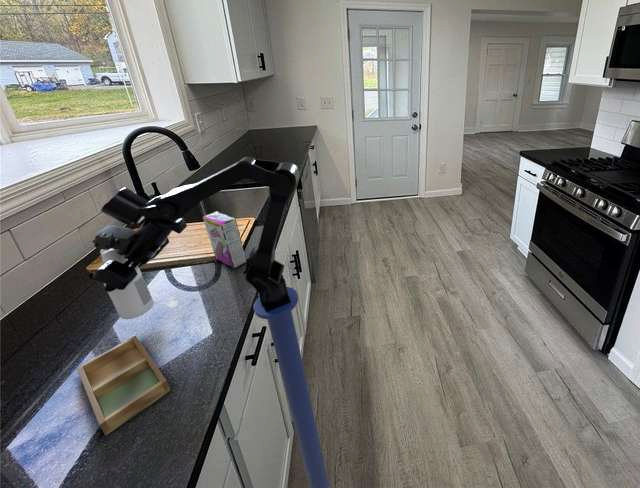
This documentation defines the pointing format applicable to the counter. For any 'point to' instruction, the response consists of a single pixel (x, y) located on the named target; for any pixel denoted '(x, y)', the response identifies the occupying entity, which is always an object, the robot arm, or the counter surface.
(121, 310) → the spray bottle
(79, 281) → the counter surface
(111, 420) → the holder
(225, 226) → the candy bar box
